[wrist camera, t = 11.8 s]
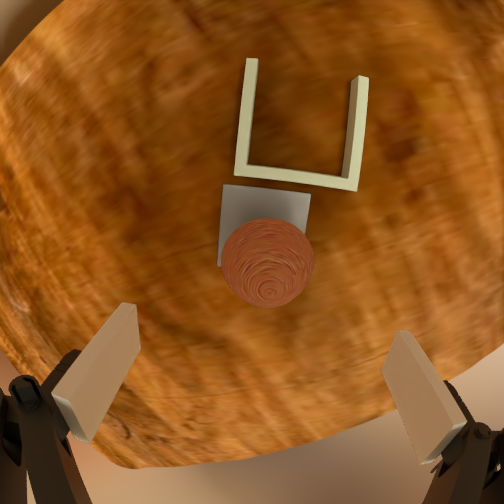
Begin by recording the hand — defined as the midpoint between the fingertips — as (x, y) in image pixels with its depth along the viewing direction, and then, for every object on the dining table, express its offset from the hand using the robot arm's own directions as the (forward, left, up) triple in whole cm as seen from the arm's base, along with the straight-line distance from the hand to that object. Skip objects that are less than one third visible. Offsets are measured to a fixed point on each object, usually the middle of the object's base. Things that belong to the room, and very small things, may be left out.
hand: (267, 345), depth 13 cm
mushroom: (0, 0, -22) cm, 22 cm away
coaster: (0, 0, -23) cm, 23 cm away
